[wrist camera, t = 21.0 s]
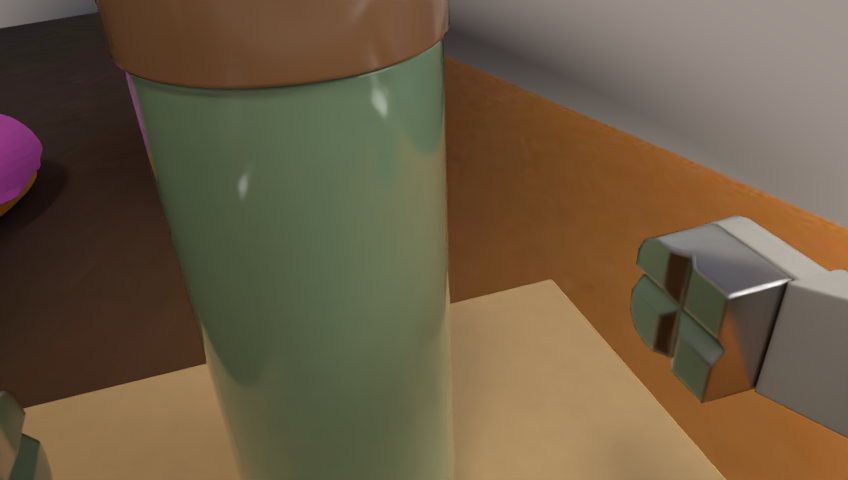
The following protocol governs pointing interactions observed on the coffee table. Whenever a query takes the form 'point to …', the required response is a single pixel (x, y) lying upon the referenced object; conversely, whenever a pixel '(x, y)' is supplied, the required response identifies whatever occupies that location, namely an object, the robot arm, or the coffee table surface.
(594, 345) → the mat
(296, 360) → the jar
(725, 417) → the coffee table surface
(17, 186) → the donut
